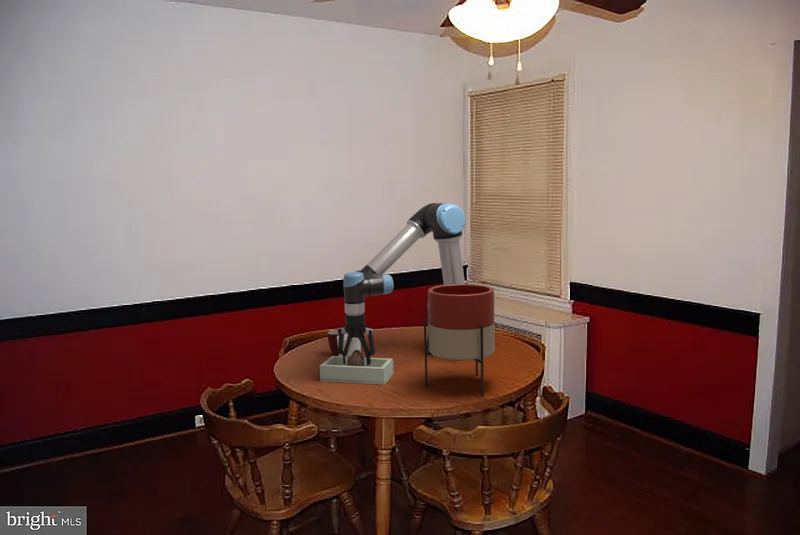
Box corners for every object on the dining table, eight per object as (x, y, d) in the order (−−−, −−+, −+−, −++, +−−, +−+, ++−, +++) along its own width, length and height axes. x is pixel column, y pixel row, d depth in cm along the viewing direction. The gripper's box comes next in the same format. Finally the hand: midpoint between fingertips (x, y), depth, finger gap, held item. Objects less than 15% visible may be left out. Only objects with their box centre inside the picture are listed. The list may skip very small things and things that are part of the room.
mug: (353, 351, 277) (352, 329, 276) (352, 357, 269) (351, 334, 268) (329, 352, 277) (328, 330, 276) (327, 357, 270) (326, 334, 268)
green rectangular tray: (393, 373, 245) (392, 358, 244) (384, 384, 232) (383, 368, 231) (332, 370, 251) (331, 356, 250) (320, 381, 238) (319, 365, 237)
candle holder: (365, 362, 261) (364, 334, 259) (356, 369, 252) (355, 340, 250) (344, 360, 264) (342, 332, 262) (334, 367, 255) (332, 338, 253)
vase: (348, 370, 245) (347, 348, 243) (366, 369, 245) (365, 347, 244) (348, 376, 238) (347, 353, 236) (366, 375, 238) (365, 352, 237)
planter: (425, 376, 241) (422, 284, 236) (491, 374, 240) (490, 283, 235) (425, 397, 217) (423, 296, 212) (498, 396, 217) (498, 294, 212)
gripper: (382, 311, 239) (384, 370, 242) (333, 310, 244) (336, 368, 247) (377, 316, 232) (379, 376, 235) (326, 315, 237) (329, 374, 240)
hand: (357, 372), depth 241 cm, fingers closed on vase, 7 cm apart
